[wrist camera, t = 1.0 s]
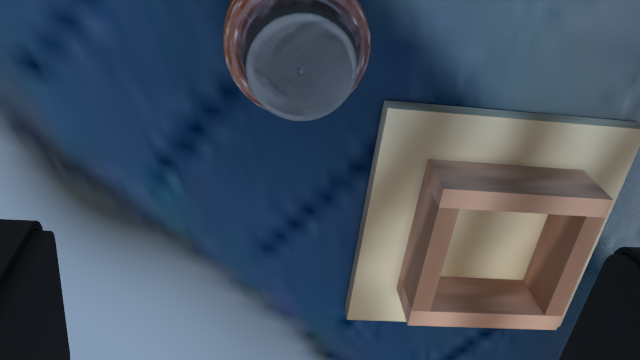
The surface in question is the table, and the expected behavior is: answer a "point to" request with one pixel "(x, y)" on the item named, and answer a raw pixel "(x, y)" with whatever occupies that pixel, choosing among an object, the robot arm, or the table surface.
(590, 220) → the bottle holder
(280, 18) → the supplement bottle
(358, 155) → the table surface
